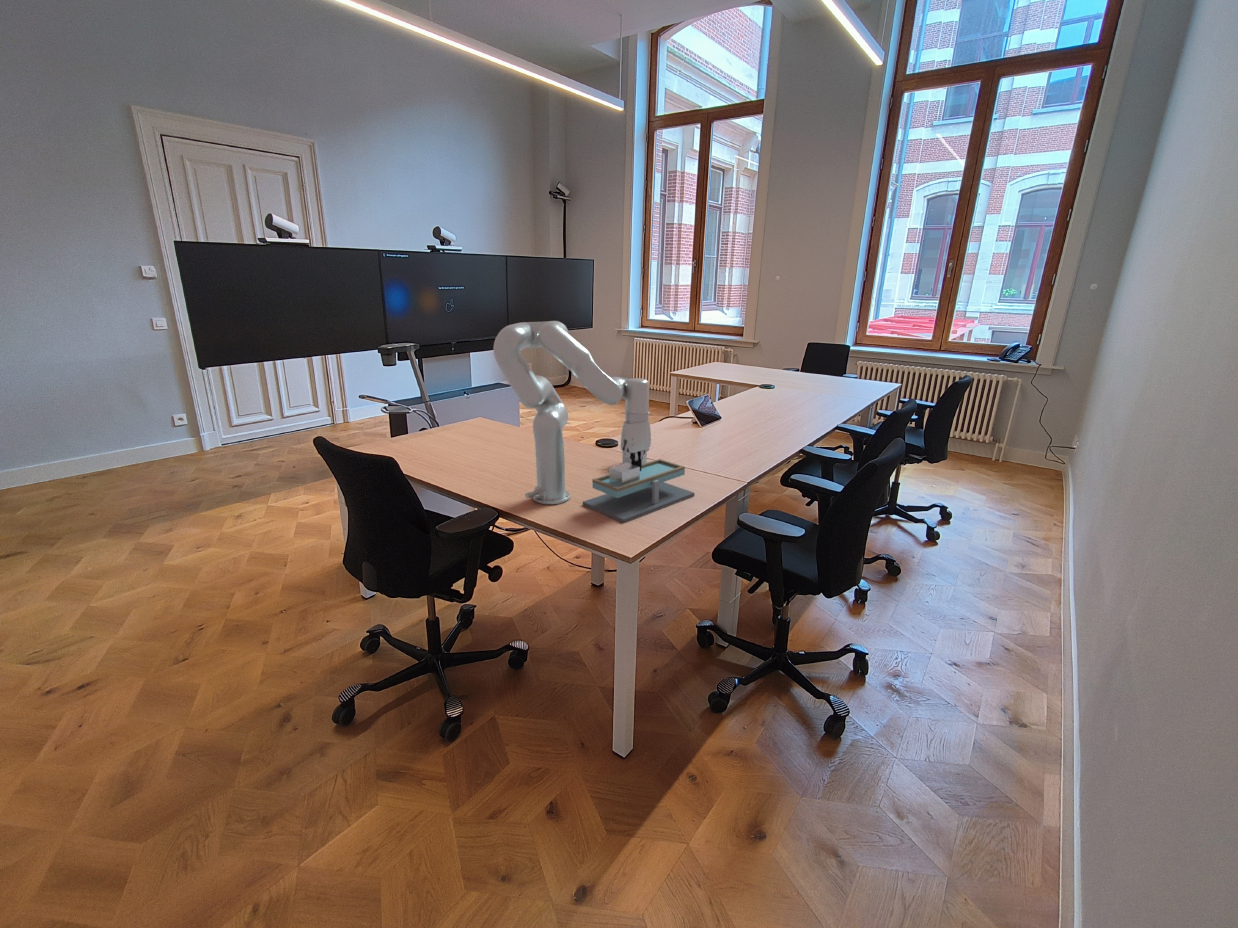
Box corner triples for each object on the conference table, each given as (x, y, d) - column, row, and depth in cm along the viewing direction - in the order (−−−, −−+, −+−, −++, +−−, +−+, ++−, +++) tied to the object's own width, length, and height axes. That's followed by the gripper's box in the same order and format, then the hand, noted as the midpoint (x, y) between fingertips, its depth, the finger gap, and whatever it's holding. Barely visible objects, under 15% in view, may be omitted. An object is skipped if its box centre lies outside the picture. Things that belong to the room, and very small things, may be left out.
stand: (623, 522, 174) (624, 495, 171) (582, 504, 188) (582, 479, 185) (694, 495, 196) (695, 471, 193) (652, 481, 210) (653, 458, 207)
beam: (617, 497, 175) (617, 488, 174) (592, 487, 183) (592, 479, 182) (684, 474, 196) (684, 466, 195) (659, 466, 204) (659, 458, 203)
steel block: (622, 487, 178) (622, 472, 177) (609, 482, 183) (609, 467, 181) (639, 481, 184) (639, 466, 182) (626, 476, 188) (626, 462, 186)
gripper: (644, 411, 189) (643, 463, 194) (612, 418, 179) (612, 473, 185) (661, 415, 184) (659, 468, 189) (628, 423, 174) (628, 478, 179)
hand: (636, 470), depth 187 cm, fingers closed
